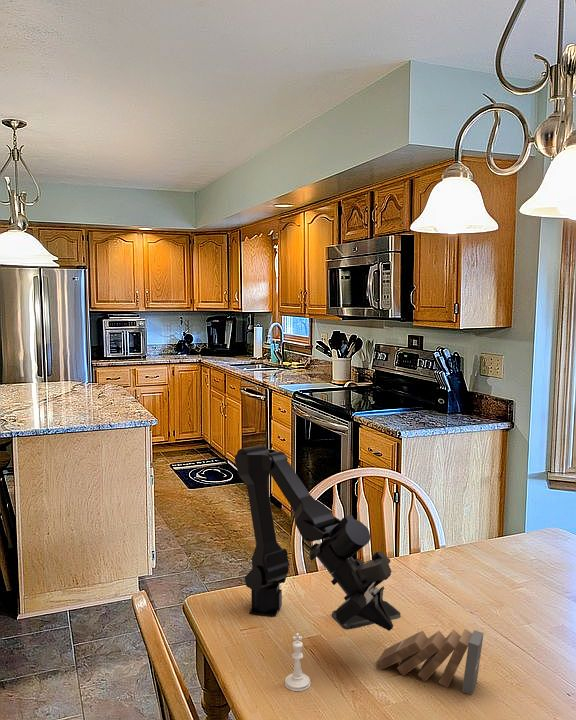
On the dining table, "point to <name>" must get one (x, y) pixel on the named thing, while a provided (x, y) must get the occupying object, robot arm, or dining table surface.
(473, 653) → the domino
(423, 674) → the domino
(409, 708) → the dining table surface
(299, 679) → the chess piece
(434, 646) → the domino
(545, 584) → the dining table surface
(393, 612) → the phone
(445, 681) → the domino
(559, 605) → the dining table surface
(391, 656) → the domino
